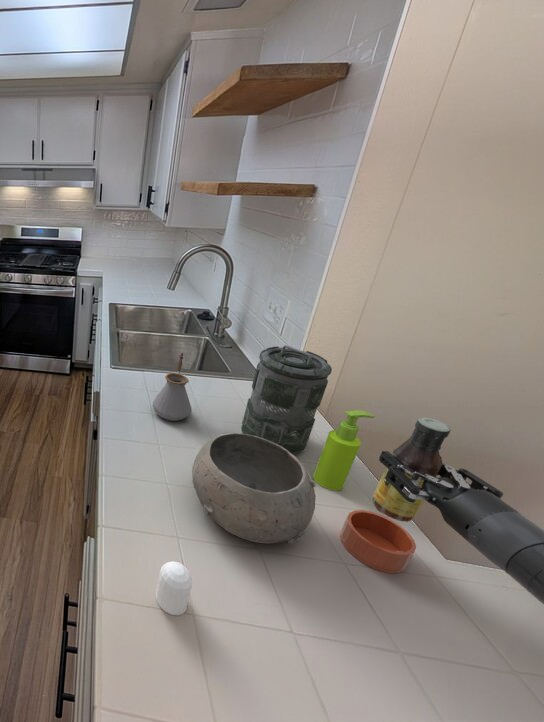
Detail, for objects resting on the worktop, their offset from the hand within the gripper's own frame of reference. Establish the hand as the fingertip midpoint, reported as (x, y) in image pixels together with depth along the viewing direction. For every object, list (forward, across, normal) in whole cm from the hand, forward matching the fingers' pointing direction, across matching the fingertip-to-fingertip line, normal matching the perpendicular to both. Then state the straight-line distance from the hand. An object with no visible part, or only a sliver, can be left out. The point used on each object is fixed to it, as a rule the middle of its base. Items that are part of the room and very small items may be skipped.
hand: (402, 455), depth 70 cm
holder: (-2, 0, +22) cm, 22 cm away
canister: (+33, +2, +21) cm, 39 cm away
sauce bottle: (-2, 0, +11) cm, 11 cm away
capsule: (-14, +43, +22) cm, 50 cm away
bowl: (+6, +22, +22) cm, 31 cm away
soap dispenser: (+17, -4, +22) cm, 27 cm away
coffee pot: (+48, +25, +21) cm, 58 cm away
